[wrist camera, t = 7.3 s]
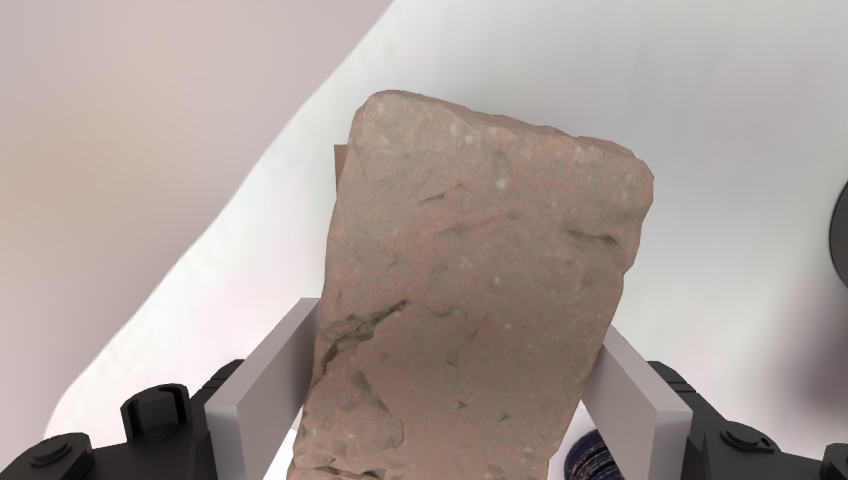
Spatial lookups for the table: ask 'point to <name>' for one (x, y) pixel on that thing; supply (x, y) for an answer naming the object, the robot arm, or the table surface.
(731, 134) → the table surface
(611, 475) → the dark blue barrel
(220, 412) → the robot arm
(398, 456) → the brick
